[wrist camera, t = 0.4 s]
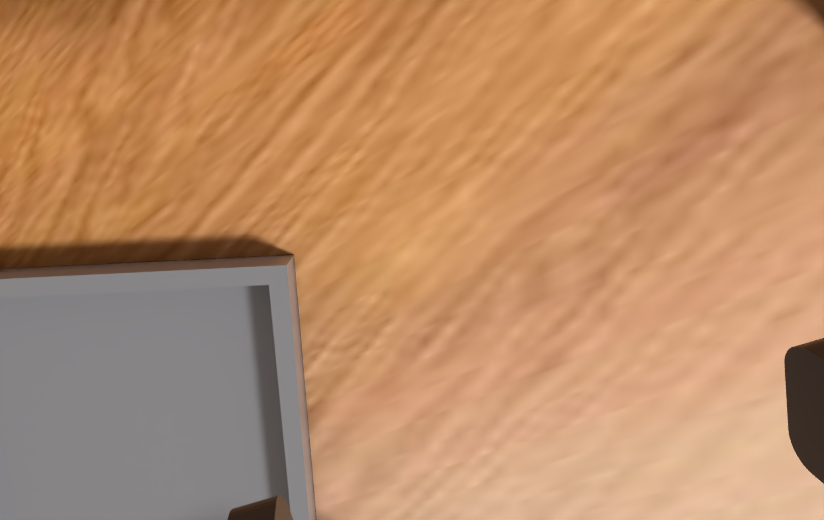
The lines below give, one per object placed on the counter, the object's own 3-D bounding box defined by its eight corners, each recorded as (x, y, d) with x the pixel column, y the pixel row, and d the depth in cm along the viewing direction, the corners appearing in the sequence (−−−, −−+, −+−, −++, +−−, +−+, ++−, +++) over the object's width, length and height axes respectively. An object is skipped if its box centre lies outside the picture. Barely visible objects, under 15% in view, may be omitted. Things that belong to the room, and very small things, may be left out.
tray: (-77, 272, 28) (-112, 284, 26) (293, 254, 28) (286, 265, 26) (-7, 589, 31) (-33, 621, 29) (320, 569, 32) (316, 599, 30)
